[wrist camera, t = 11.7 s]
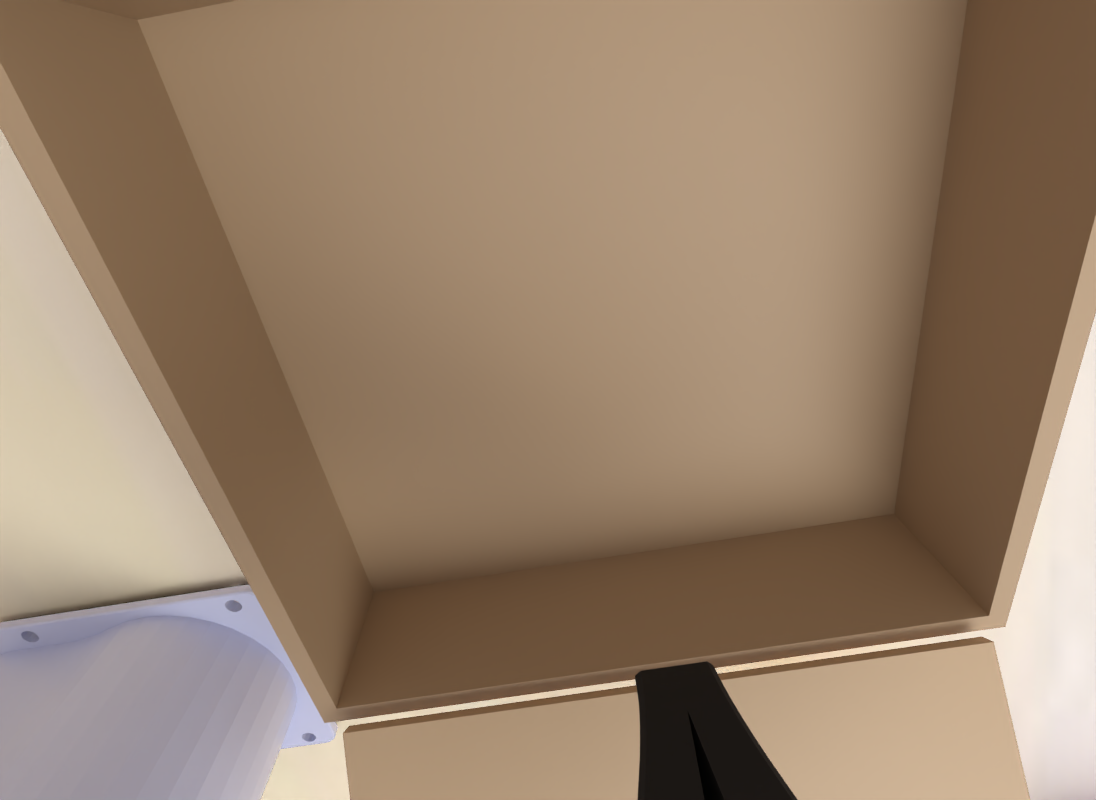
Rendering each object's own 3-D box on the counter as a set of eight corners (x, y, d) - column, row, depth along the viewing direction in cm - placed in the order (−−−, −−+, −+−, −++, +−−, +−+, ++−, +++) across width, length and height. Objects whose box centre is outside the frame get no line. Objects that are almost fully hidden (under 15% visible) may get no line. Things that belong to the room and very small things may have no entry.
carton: (366, 596, 19) (324, 723, 15) (112, -7, 12) (-109, -74, 8) (900, 515, 18) (1005, 626, 14) (1005, -186, 11) (1290, -365, 7)
